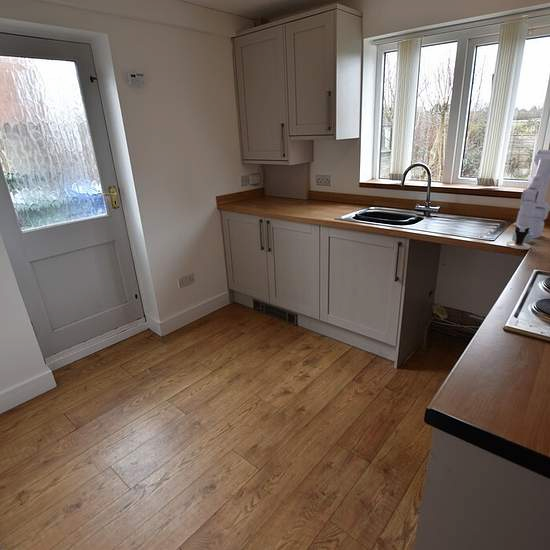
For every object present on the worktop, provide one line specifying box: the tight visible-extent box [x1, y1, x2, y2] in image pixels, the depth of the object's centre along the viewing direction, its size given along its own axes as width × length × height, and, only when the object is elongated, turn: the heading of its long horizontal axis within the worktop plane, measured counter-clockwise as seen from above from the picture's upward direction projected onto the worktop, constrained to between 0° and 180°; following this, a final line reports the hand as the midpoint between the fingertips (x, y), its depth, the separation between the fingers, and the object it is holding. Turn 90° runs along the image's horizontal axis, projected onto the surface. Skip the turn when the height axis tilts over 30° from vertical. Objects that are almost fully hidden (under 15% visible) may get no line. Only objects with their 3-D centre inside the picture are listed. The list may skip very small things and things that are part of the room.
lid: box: [505, 239, 532, 250], centre depth 177 cm, size 10×10×4 cm
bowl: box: [511, 230, 533, 244], centre depth 185 cm, size 8×8×4 cm
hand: (518, 243), depth 177 cm, fingers closed on lid, 4 cm apart
